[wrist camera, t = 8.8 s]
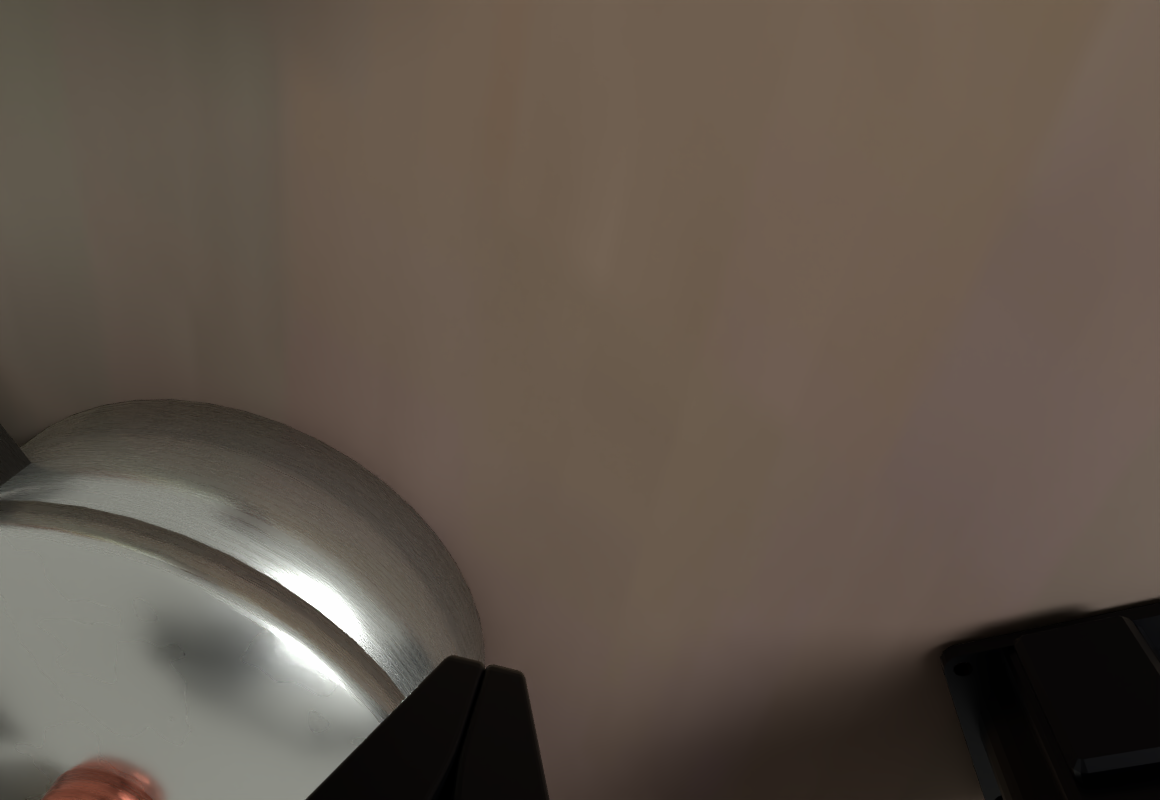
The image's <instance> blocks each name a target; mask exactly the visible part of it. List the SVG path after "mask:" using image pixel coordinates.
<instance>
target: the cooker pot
mask: <svg viewBox="0 0 1160 800" xmlns="http://www.w3.org/2000/svg"><path fill="white" fill-rule="evenodd" d="M0 501H41V502H49V503H58V504H66V505H74V506H82V507H87V508H91V509H96V510H100V511H105V512H109V513H113V514H118V515H122V516H126V517H131V518H134V519H137V520H140V521H143V522H146V523H149V524H152V525H155V526H158V527H161V528H164V529H167V530H170V531H173V532H176V533H179V534H182V535H185V536H187V537H189V538H191V539H194V540H196V541H198V542H201V543H203V544H205V545H207V546H210V547H212V548H214V549H216V550H219V551H221V552H223V553H226V554H228V555H230V556H232V557H234V558H236V559H237V560H239V561H241V562H243V563H245V564H246V565H248V566H250V567H252V568H254V569H255V570H257V571H259V572H261V573H263V574H264V575H266V576H268V577H270V578H272V579H273V580H275V581H277V582H278V583H280V584H281V585H283V586H284V587H286V588H287V589H289V590H290V591H292V592H293V593H294V594H296V595H297V596H299V597H300V598H302V599H303V600H305V601H306V602H308V603H309V604H311V605H312V606H314V607H315V608H316V609H318V610H319V611H320V612H321V613H323V614H324V615H325V616H326V617H327V618H329V619H330V620H331V621H332V622H333V623H335V624H336V625H337V626H338V627H339V628H341V629H342V630H343V631H344V632H345V633H347V634H348V635H349V636H350V637H351V638H353V639H354V640H355V641H356V642H357V643H358V644H359V645H360V646H361V647H362V648H363V649H364V650H365V651H366V652H367V653H368V654H369V655H370V656H371V658H372V659H373V660H374V661H375V662H376V663H377V664H378V665H379V666H380V667H381V668H382V669H383V670H384V671H385V672H386V673H387V674H388V676H389V677H390V678H391V680H392V681H393V682H394V684H395V685H396V686H397V687H398V689H399V690H400V691H401V693H402V694H403V695H404V696H405V698H406V697H407V696H408V695H409V694H410V693H411V692H412V691H413V690H414V689H415V688H416V687H417V686H418V685H419V684H420V683H421V682H422V681H423V680H424V679H425V678H426V677H427V676H428V675H429V674H430V673H431V672H432V671H433V670H434V669H435V668H436V667H437V666H438V665H439V664H440V663H441V662H442V661H443V660H444V659H445V658H446V657H448V656H450V655H456V656H461V657H465V658H469V659H473V660H477V661H480V662H482V663H483V664H484V666H485V652H484V639H483V634H482V628H481V623H480V618H479V615H478V612H477V609H476V606H475V603H474V600H473V597H472V595H471V592H470V589H469V587H468V586H467V584H466V582H465V580H464V578H463V576H462V574H461V572H460V570H459V568H458V566H457V564H456V562H455V561H454V559H453V558H452V557H451V555H450V554H449V552H448V551H447V549H446V548H445V546H444V545H443V543H442V542H441V541H440V539H439V538H438V536H437V535H436V534H435V533H434V532H433V530H432V529H431V528H430V527H429V526H428V525H427V524H426V522H425V521H424V520H423V519H422V518H421V517H420V516H419V514H418V513H417V512H416V511H415V510H414V509H413V508H412V507H411V506H410V505H409V504H408V503H407V502H405V501H404V500H403V499H402V498H401V497H400V496H399V495H398V494H397V493H396V492H394V491H393V490H392V489H391V488H390V487H389V486H388V485H387V484H386V483H384V482H383V481H381V480H380V479H379V478H377V477H376V476H375V475H373V474H372V473H371V472H369V471H368V470H366V469H365V468H364V467H362V466H361V465H360V464H358V463H357V462H356V461H354V460H352V459H351V458H349V457H347V456H345V455H344V454H342V453H340V452H339V451H337V450H335V449H334V448H332V447H330V446H328V445H327V444H325V443H323V442H322V441H320V440H317V439H315V438H313V437H311V436H309V435H306V434H304V433H302V432H300V431H298V430H295V429H293V428H291V427H289V426H287V425H284V424H282V423H279V422H276V421H273V420H270V419H267V418H264V417H261V416H258V415H255V414H252V413H249V412H245V411H241V410H236V409H232V408H227V407H223V406H218V405H214V404H209V403H200V402H190V401H181V400H135V401H128V402H122V403H115V404H109V405H103V406H100V407H96V408H93V409H90V410H87V411H83V412H80V413H77V414H74V415H72V416H70V417H68V418H66V419H64V420H62V421H60V422H58V423H56V424H54V425H52V426H50V427H48V428H47V429H45V430H44V431H42V432H41V433H40V434H38V435H37V436H35V437H34V438H33V439H31V440H30V441H29V442H27V443H26V444H24V445H23V446H22V447H20V448H19V447H18V446H17V444H16V443H15V442H14V441H13V439H12V438H11V437H10V436H9V434H8V433H7V432H6V431H5V429H4V428H3V427H2V426H1V424H0Z"/></svg>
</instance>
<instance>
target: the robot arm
mask: <svg viewBox="0 0 1160 800" xmlns="http://www.w3.org/2000/svg"><path fill="white" fill-rule="evenodd" d="M940 661H941V665H942V668H943V671H944V675H945V678H946V681H947V684H948V687H949V690H950V693H951V696H952V699H953V702H954V705H955V709H956V712H957V715H958V718H959V721H960V724H961V727H962V730H963V733H964V736H965V740H966V743H967V746H968V749H969V752H970V755H971V758H972V761H973V764H974V767H975V771H976V774H977V777H978V780H979V783H980V786H981V789H982V792H983V795H984V798H985V800H1160V603H1157V604H1152V605H1147V606H1142V607H1137V608H1133V609H1128V610H1123V611H1118V612H1113V613H1109V614H1104V615H1099V616H1094V617H1089V618H1085V619H1080V620H1075V621H1070V622H1065V623H1061V624H1056V625H1051V626H1046V627H1041V628H1036V629H1032V630H1027V631H1022V632H1017V633H1012V634H1008V635H1003V636H998V637H993V638H988V639H984V640H979V641H974V642H969V643H964V644H960V645H955V646H952V647H949V648H948V649H946V650H945V651H944V652H943V653H942V655H941V657H940ZM961 662H967V663H965V664H963V665H956V664H959V663H961ZM305 800H549V795H548V790H547V785H546V780H545V775H544V770H543V765H542V760H541V755H540V750H539V745H538V739H537V734H536V729H535V724H534V719H533V714H532V709H531V704H530V699H529V694H528V689H527V684H526V679H525V677H524V675H523V673H522V672H520V671H518V670H514V669H510V668H506V667H502V666H498V665H489V666H488V667H487V668H486V669H485V666H484V664H483V663H482V662H480V661H477V660H473V659H469V658H465V657H461V656H456V655H450V656H448V657H446V658H445V659H444V660H443V661H442V662H441V663H440V664H439V665H438V666H437V667H436V668H435V669H434V670H433V671H432V672H431V673H430V674H429V675H428V676H427V677H426V678H425V679H424V680H423V681H422V682H421V683H420V684H419V685H418V686H417V687H416V688H415V689H414V690H413V691H412V692H411V693H410V694H409V695H408V696H407V697H406V698H405V699H404V700H403V701H402V702H401V703H400V704H399V705H398V706H397V707H396V708H395V709H394V710H393V711H392V712H391V713H390V714H389V715H388V716H387V717H386V718H385V719H384V720H383V721H382V722H381V723H380V724H379V725H378V726H377V727H376V728H375V729H374V730H373V731H372V732H371V733H370V734H369V735H368V736H367V738H366V739H365V740H364V741H363V742H362V743H361V744H360V745H359V746H358V747H357V748H356V749H355V750H354V751H353V752H352V753H351V754H350V755H349V756H348V757H347V758H346V759H345V760H344V761H343V762H342V763H341V764H340V765H339V766H338V767H337V768H336V769H335V770H334V771H333V772H332V773H331V774H330V775H329V776H328V777H327V778H326V779H325V780H324V781H323V782H322V783H321V784H320V785H319V786H318V787H317V788H316V789H315V790H314V791H313V792H312V793H311V794H310V795H309V796H308V797H307V798H306V799H305Z"/></svg>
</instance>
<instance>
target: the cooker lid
mask: <svg viewBox="0 0 1160 800" xmlns="http://www.w3.org/2000/svg"><path fill="white" fill-rule="evenodd" d="M404 699H405V696H404V695H403V694H402V693H401V691H400V690H399V689H398V687H397V686H396V685H395V684H394V682H393V681H392V680H391V678H390V677H389V676H388V674H387V673H386V672H385V671H384V670H383V669H382V668H381V667H380V666H379V665H378V664H377V663H376V662H375V661H374V660H373V659H372V658H371V656H370V655H369V654H368V653H367V652H366V651H365V650H364V649H363V648H362V647H361V646H360V645H359V644H358V643H357V642H356V641H355V640H354V639H353V638H351V637H350V636H349V635H348V634H347V633H345V632H344V631H343V630H342V629H341V628H339V627H338V626H337V625H336V624H335V623H333V622H332V621H331V620H330V619H329V618H327V617H326V616H325V615H324V614H323V613H321V612H320V611H319V610H318V609H316V608H315V607H314V606H312V605H311V604H309V603H308V602H306V601H305V600H303V599H302V598H300V597H299V596H297V595H296V594H294V593H293V592H292V591H290V590H289V589H287V588H286V587H284V586H283V585H281V584H280V583H278V582H277V581H275V580H273V579H272V578H270V577H268V576H266V575H264V574H263V573H261V572H259V571H257V570H255V569H254V568H252V567H250V566H248V565H246V564H245V563H243V562H241V561H239V560H237V559H236V558H234V557H232V556H230V555H228V554H226V553H223V552H221V551H219V550H216V549H214V548H212V547H210V546H207V545H205V544H203V543H201V542H198V541H196V540H194V539H191V538H189V537H187V536H185V535H182V534H179V533H176V532H173V531H170V530H167V529H164V528H161V527H158V526H155V525H152V524H149V523H146V522H143V521H140V520H137V519H134V518H131V517H126V516H122V515H118V514H113V513H109V512H105V511H100V510H96V509H91V508H87V507H82V506H74V505H66V504H58V503H49V502H41V501H0V800H305V799H306V798H307V797H308V796H309V795H310V794H311V793H312V792H313V791H314V790H315V789H316V788H317V787H318V786H319V785H320V784H321V783H322V782H323V781H324V780H325V779H326V778H327V777H328V776H329V775H330V774H331V773H332V772H333V771H334V770H335V769H336V768H337V767H338V766H339V765H340V764H341V763H342V762H343V761H344V760H345V759H346V758H347V757H348V756H349V755H350V754H351V753H352V752H353V751H354V750H355V749H356V748H357V747H358V746H359V745H360V744H361V743H362V742H363V741H364V740H365V739H366V738H367V736H368V735H369V734H370V733H371V732H372V731H373V730H374V729H375V728H376V727H377V726H378V725H379V724H380V723H381V722H382V721H383V720H384V719H385V718H386V717H387V716H388V715H389V714H390V713H391V712H392V711H393V710H394V709H395V708H396V707H397V706H398V705H399V704H400V703H401V702H402V701H403V700H404Z"/></svg>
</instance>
